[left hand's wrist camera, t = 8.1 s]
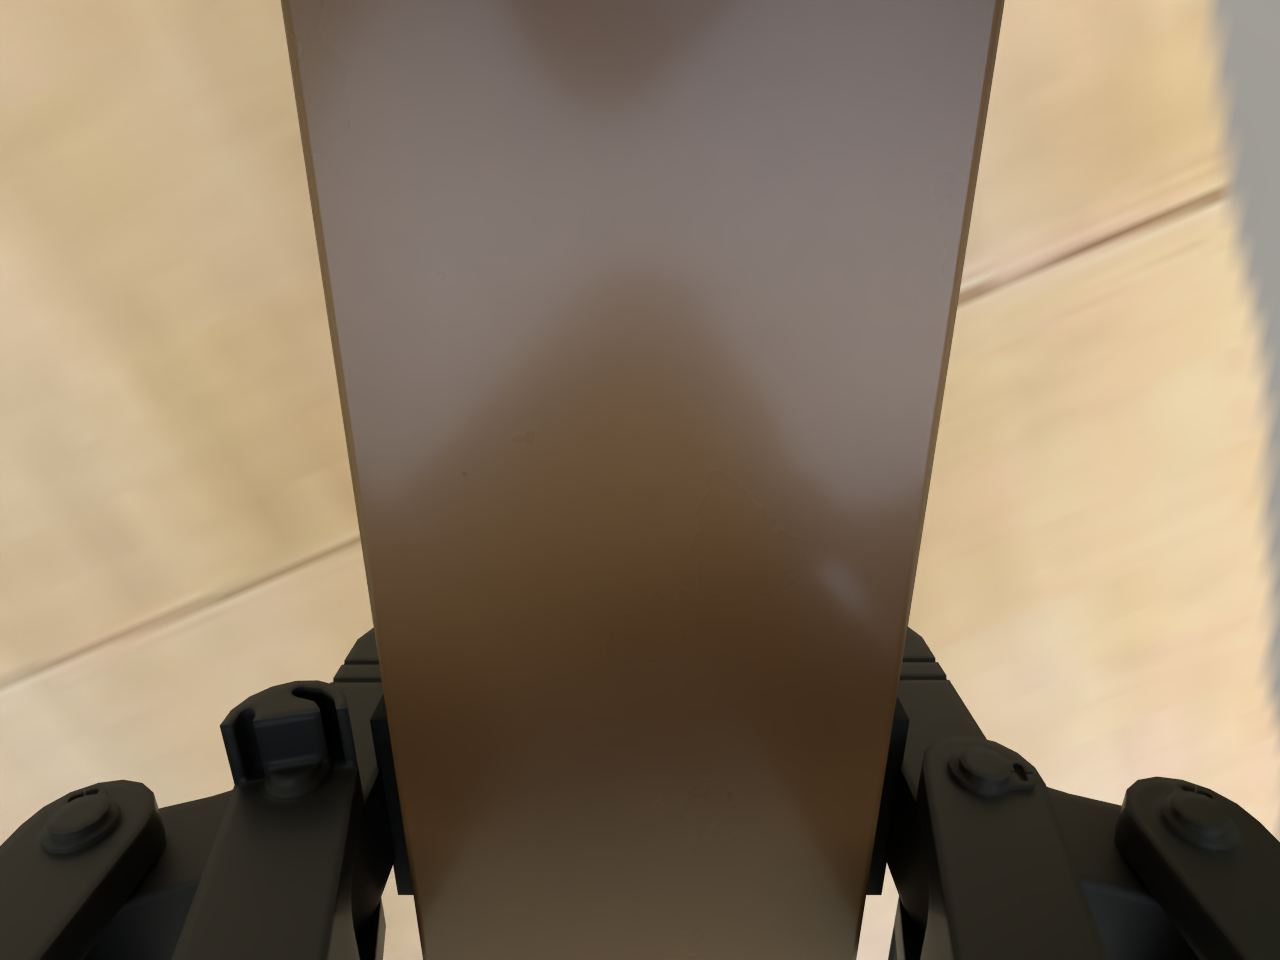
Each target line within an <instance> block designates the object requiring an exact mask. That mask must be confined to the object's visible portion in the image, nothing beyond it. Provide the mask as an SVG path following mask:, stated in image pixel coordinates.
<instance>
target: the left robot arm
mask: <svg viewBox="0 0 1280 960" xmlns="http://www.w3.org/2000/svg"><path fill="white" fill-rule="evenodd" d="M220 728H221V732H222V736H223V740H224V744H225V748H226V752H227V756H228V760H229V764H230V768H231V772H232V776H233V780H234V784H235V786H234V788H233V790H231V791H228V792H225V793H221V794H218V795H215V796H211V797H207V798H203V799H199V800H194V801H190V802H186V803H181V804H177V805H173V806H168V807H164V808H160V809H158V806H157V803H156V799H155V796H154V793H153V792H152V791H151V790H150V789H149V788H148V787H146V786H145V785H144V784H143V783H139V782H133V781H127V780H118V781H110V782H102V783H97V784H94V785H91V786H88V787H85V788H82V789H79V790H76V791H73V792H70V793H69V794H67V795H65V796H63V797H61V798H59V799H57V800H56V801H54V802H52V803H50V804H48V805H46V806H45V807H43V808H42V809H41V810H39V811H38V812H37V813H36V814H34V815H33V816H32V817H31V818H29V819H28V820H27V821H26V822H24V823H23V824H22V825H21V826H20V827H19V828H18V829H17V830H16V831H15V832H14V833H13V834H12V835H11V836H10V837H9V838H8V839H7V840H6V841H5V842H4V843H3V844H2V845H1V846H0V960H383V951H384V940H385V929H386V924H385V918H384V911H383V905H382V899H381V896H382V893H383V890H384V888H385V885H386V882H387V880H388V877H389V874H390V871H391V869H392V866H394V872H395V879H396V885H397V891H398V895H414V894H413V888H412V881H411V874H410V867H409V861H408V854H407V847H406V840H405V834H404V827H403V820H402V813H401V807H400V800H399V793H398V786H397V780H396V773H395V766H394V759H393V753H392V746H391V739H390V732H389V726H388V719H387V712H386V705H385V699H384V692H383V685H382V679H381V672H380V665H379V658H378V652H377V645H376V638H375V631H374V628H372V629H371V630H370V631H368V632H367V633H366V634H364V635H363V636H362V637H360V638H359V639H358V640H357V642H356V643H355V645H354V646H353V648H352V649H351V651H350V653H349V654H348V656H347V657H346V659H345V663H344V665H341V667H340V669H339V670H338V672H337V673H336V675H335V677H334V681H333V683H330V684H329V683H325V682H322V681H294V682H290V683H285V684H281V685H277V686H273V687H270V688H268V689H266V690H264V691H261V692H259V693H257V694H255V695H252V696H250V697H249V698H247V699H246V700H245V701H243V702H242V703H240V704H239V705H238V706H236V707H235V708H234V709H232V710H231V711H230V713H229V714H228V715H227V717H226V718H225V719H224V721H223V722H222V724H221V725H220ZM886 863H887V864H888V866H889V869H890V872H891V875H892V877H893V880H894V883H895V885H896V888H897V891H898V894H899V899H898V905H897V911H896V917H895V922H894V928H893V934H892V940H891V945H890V951H889V957H888V960H1280V842H1279V841H1278V840H1277V839H1276V838H1275V837H1274V836H1273V835H1272V834H1271V833H1270V832H1269V831H1268V830H1267V829H1266V828H1265V827H1264V826H1263V825H1262V824H1261V823H1260V822H1259V821H1258V820H1256V819H1255V818H1254V817H1253V816H1251V815H1250V814H1249V813H1248V812H1246V811H1245V810H1244V809H1243V808H1242V807H1240V806H1239V805H1238V804H1236V803H1234V802H1233V801H1231V800H1229V799H1227V798H1225V797H1223V796H1221V795H1220V794H1218V793H1216V792H1214V791H1212V790H1210V789H1208V788H1205V787H1202V786H1199V785H1196V784H1193V783H1190V782H1187V781H1184V780H1179V779H1171V778H1163V777H1152V778H1147V779H1141V780H1137V781H1136V782H1135V783H1134V784H1133V785H1132V786H1130V787H1129V788H1128V789H1127V791H1126V794H1125V797H1124V800H1123V804H1122V806H1120V805H1116V804H1112V803H1107V802H1103V801H1098V800H1094V799H1090V798H1085V797H1081V796H1077V795H1072V794H1068V793H1065V792H1062V791H1058V790H1055V789H1052V788H1049V787H1046V784H1045V783H1044V781H1043V780H1042V778H1041V776H1040V775H1039V773H1038V772H1037V770H1036V768H1035V767H1034V766H1032V765H1031V764H1030V763H1029V762H1028V761H1026V760H1025V759H1024V758H1023V757H1022V756H1020V755H1019V754H1018V753H1016V752H1014V751H1012V750H1010V749H1008V748H1007V747H1005V746H1003V745H1001V744H999V743H997V742H994V741H990V740H987V739H986V737H985V736H984V734H983V733H982V731H981V730H980V728H979V726H978V725H977V723H976V722H975V720H974V719H973V717H972V715H971V714H970V712H969V711H968V709H967V707H966V706H965V704H964V703H963V701H962V700H961V698H960V696H959V695H958V693H957V692H956V690H955V689H954V687H953V685H952V684H951V682H950V681H949V680H947V679H946V674H945V673H944V671H943V670H942V668H941V666H940V665H939V663H938V662H935V657H934V655H933V654H932V652H931V651H930V649H929V647H928V646H927V644H926V643H925V641H924V640H923V638H922V637H921V636H920V635H918V634H917V633H916V632H914V631H913V630H912V629H910V628H909V627H907V634H906V640H905V647H904V653H903V660H902V666H901V673H900V679H899V686H898V692H897V699H896V705H895V711H894V718H893V724H892V731H891V737H890V744H889V750H888V757H887V763H886V770H885V776H884V783H883V789H882V795H881V802H880V808H879V815H878V821H877V828H876V834H875V841H874V847H873V854H872V860H871V867H870V873H869V879H868V886H867V892H866V895H881V894H882V888H883V882H884V875H885V869H886Z"/></svg>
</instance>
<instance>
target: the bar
mask: <svg viewBox="0 0 1280 960" xmlns="http://www.w3.org/2000/svg"><path fill="white" fill-rule="evenodd" d="M281 4H282V11H283V17H284V24H285V31H286V38H287V44H288V51H289V58H290V65H291V71H292V78H293V85H294V92H295V98H296V105H297V112H298V119H299V125H300V132H301V139H302V146H303V152H304V159H305V166H306V173H307V179H308V186H309V193H310V200H311V206H312V213H313V220H314V227H315V233H316V240H317V247H318V254H319V260H320V267H321V274H322V281H323V287H324V294H325V301H326V308H327V314H328V321H329V328H330V335H331V341H332V348H333V355H334V361H335V368H336V375H337V382H338V388H339V395H340V402H341V409H342V415H343V422H344V429H345V436H346V442H347V449H348V456H349V463H350V469H351V476H352V483H353V490H354V496H355V503H356V510H357V517H358V523H359V530H360V537H361V544H362V550H363V557H364V564H365V571H366V577H367V584H368V591H369V598H370V604H371V611H372V618H373V625H374V631H375V638H376V645H377V652H378V658H379V665H380V672H381V679H382V685H383V692H384V699H385V705H386V712H387V719H388V726H389V732H390V739H391V746H392V753H393V759H394V766H395V773H396V780H397V786H398V793H399V800H400V807H401V813H402V820H403V827H404V834H405V840H406V847H407V854H408V861H409V867H410V874H411V881H412V888H413V894H414V901H415V908H416V915H417V921H418V928H419V935H420V942H421V948H422V955H423V960H856V957H857V951H858V944H859V938H860V931H861V925H862V918H863V912H864V905H865V899H866V892H867V886H868V879H869V873H870V867H871V860H872V854H873V847H874V841H875V834H876V828H877V821H878V815H879V808H880V802H881V795H882V789H883V783H884V776H885V770H886V763H887V757H888V750H889V744H890V737H891V731H892V724H893V718H894V711H895V705H896V699H897V692H898V686H899V679H900V673H901V666H902V660H903V653H904V647H905V640H906V634H907V627H908V621H909V614H910V608H911V602H912V595H913V589H914V582H915V576H916V569H917V563H918V556H919V550H920V543H921V537H922V530H923V524H924V518H925V511H926V505H927V498H928V492H929V485H930V479H931V472H932V466H933V459H934V453H935V446H936V440H937V434H938V427H939V421H940V414H941V408H942V401H943V395H944V388H945V382H946V375H947V369H948V362H949V356H950V349H951V343H952V337H953V330H954V324H955V317H956V311H957V304H958V298H959V291H960V285H961V278H962V272H963V265H964V259H965V253H966V246H967V240H968V233H969V227H970V220H971V214H972V207H973V201H974V194H975V188H976V181H977V175H978V169H979V162H980V156H981V149H982V143H983V136H984V130H985V123H986V117H987V110H988V104H989V97H990V91H991V84H992V78H993V72H994V65H995V59H996V52H997V46H998V39H999V33H1000V26H1001V20H1002V13H1003V7H1004V0H281Z"/></svg>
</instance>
